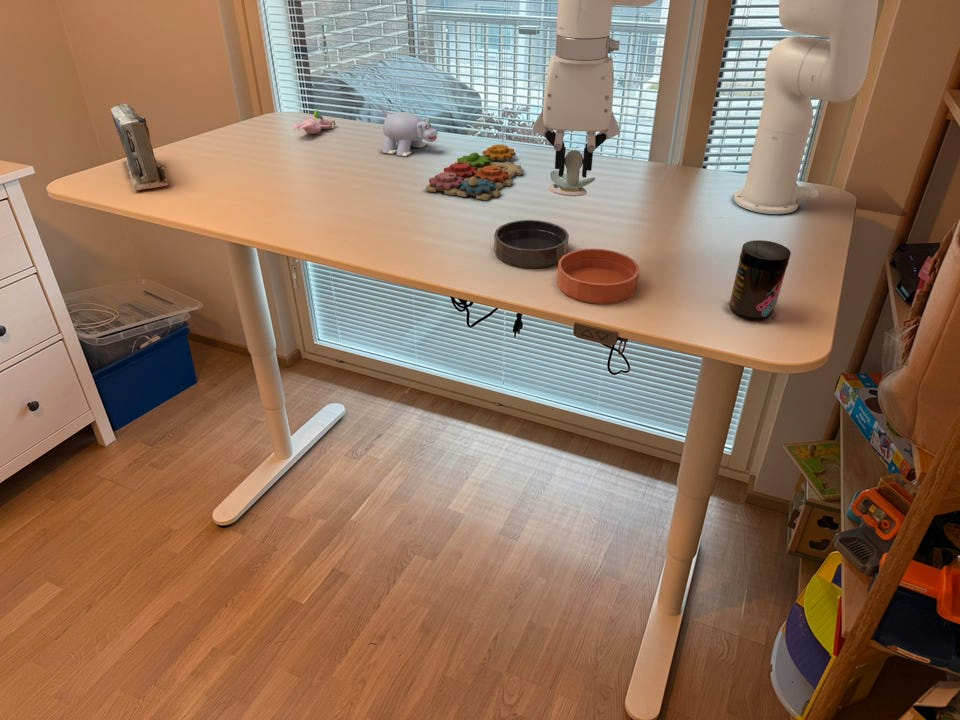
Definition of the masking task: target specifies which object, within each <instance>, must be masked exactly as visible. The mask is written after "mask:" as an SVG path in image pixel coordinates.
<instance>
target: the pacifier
mask: <svg viewBox="0 0 960 720" xmlns="http://www.w3.org/2000/svg"><path fill="white" fill-rule="evenodd" d="M564 168H565V169H566V173H564V174H563V176H559V170H552V171H551V172H550V174H549V177H550V180H551V181H552V184H549V185H548V187H547V188H548V191H549V192H550V193H551V192H552V193H554V194H556V195H560V196H564V197H583V196H585V195H587V194H588V191H587V189H585V188H584V187H587V186H588V185H590V184H592V183H593V182H595V180H596V177H589V178H583V179H580V172H581V171H580V170H581V168H583V154H582V153H581V152H580V151H578V150H576V149H573V150H570V151H568V152H567V154H565V166H564Z"/></svg>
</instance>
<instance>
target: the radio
mask: <svg viewBox="0 0 960 720" xmlns="http://www.w3.org/2000/svg"><path fill="white" fill-rule="evenodd" d="M110 113H111V116H112V119H113V123H114V126H115V127H116V131H117V134H118V136H119V140H120V142H121V146H122V148H123V151H124V153H125V156H126V160H127V161H125V162H126V167H127V170H128V174H129V177H130V180H131V184H132V186H133V188H134V190H135V191H142V190H146V189H153V188H159V187H165V186H169V183H168V179H167V174H166V172H165V168H164V166H163V165H162V164H158V163H157V159H156V158H155V153H154V149H153V145H152V143H151V137H150V130H149V127H148V125H147V120H146V118H145V117H143V116H140V115H138V114H137V113H136V110H135V108H134V107H133V106H131V105H129V104H126V103H116V105H115V106H113V107H112V108H110Z"/></svg>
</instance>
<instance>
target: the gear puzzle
mask: <svg viewBox="0 0 960 720" xmlns="http://www.w3.org/2000/svg"><path fill="white" fill-rule="evenodd" d="M515 156H517V153H516V152H515V149H514V148H509V147H508V145H504V144H494V145H491V146H489V147H487V148H486V149H485V150H483V151H482V154H479V153H478V152H477V151H476V152H475V151H474V152H472V153H470V154H469V155H463V156H462V157H458V158H457V159H456V162H454V163H451V164H450V165H449V166H447V167H444V168H443V172H439V173H437V174H435V175H434V177H431V178H428V183H429V184H428V185H426V186H425V190H426V192H431V193H437V192H438V191H440V192H444V195H448V196H457V197H462V198H467V197H468V196H471V197H475V198H476V199H477V200H481V201H487V200H489V199H490V198H492V197H494V198H498V197H499V196H500V195H501V190H499V189H502V188H503V187H504V186H506V187H511V185H512V184H513V178H514V177H515V176H521V175H522V174H524V169H522V165H520V164H515V163H514V162H511V161H505V160H512V157H515ZM496 160H498V161H496ZM493 161H494V162H493ZM499 161H501V162H499ZM502 161H505V162H502Z"/></svg>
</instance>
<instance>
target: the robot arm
mask: <svg viewBox="0 0 960 720" xmlns="http://www.w3.org/2000/svg"><path fill="white" fill-rule="evenodd" d="M657 1H658V0H557V17H556V34H555V35H556V37H555V54H554V55H551V56H550V58H549V62H548V66H547V72H546V79H545V88H544V98H543V109H542V110H541V112H540V114H539V115H538V117H537V119H536V120H535V121H534V124H533V127H532V130H533V132H535V133H537V134H538V135H540V136H541V137H544V138H545V139H546V140H547V141H548V142H549V144H550V145H551V146H552V148H553V149H554V150H555V158H554V170H558V171H559V176H563V174H565V157H566V148H567V146H566V145H565V142H564V137H565V132H566V131H568V132H585V133H586V136H587V137H586V144H585V147H584V148H583V154H582V157H583V164H582V167H581V168H582V169H581V177H582V178H583V179H587V175H588V171H590V172H592V170H593V169H592V168H593V157H594V152H595V151H596V150H597V149H598V148H599V147H600V146H601V145H602V144H604V142H606V141H607V140H610V139H611V138H614V137H616V136H618V135H620V133H621V132H620V131H621V128H620V126H619V123H618V121H617V119H616V116H615V113H614V112H613V102H614V84H615V80H614V79H615V78H614V76H615V73H614V72H615V71H614V59H613V57H611V56H609V54H611V52H612V53H614V52H615V51H616V52H618V51H620V43H621V41H620V40H616V39H613V37H611V26H612V17H613V8H615V6H622V7H623V6H624V7H634V8H640V7H642V8H643V7H646V6H649V5H652V4H654V3H655V2H657ZM878 8H879V0H778V19H779V20H778V21H779V24H780V25H781V26H782V27H783V28H784V29H785V30H787V31H789V32H793V33H797V34H800V35H796V36H795V35H794V36H793V35H792V36H789V37H785V38H783V39H781V40H780V41H778V42H777V43H776V44H775V45H774V46H773V47H772V48H771V49H770V51H769V53H768V56H767V59H766V61H765V62H766V64H765V69H764V71H765V73H764V92H763V93H764V94H763V100H762V107H761V111H760V117H759V121H758V125H757V129H756V133H755V138H754V143H753V147H752V152H751V157H750V159H749V165H748V169H747V174H746V178H745V183H744V187H743V188H741V189H739V190H737V191H736V192H735V193H734V196H733V200H734V203H735V204H736V205H738V206H739V207H741V208H743V209H745V210H749V211H751V212H755V213H760V214H765V215H785V214H791V213H793V212H795V211H797V209H798V208H799V205H800V201H801V200H802V199H807V200H818V198H819V197H820V190H819V189H813V188H812V189H810V186H807V185H806V186H805V185H802V186H800V185H798V183H797V181H798V178H799V174H800V170H801V167H802V162H803V158H804V154H805V151H806V147H807V143H808V140H809V136H810V132H811V129H812V125H813V121H814V111H813V108H814V107H813V103H812V99H811V98H813V99H817V100H821V101H825V102H826V101H827V102H831V103H844V102H847V101H849V100H852V99H853V98H854V97H855V96H856V95H857V94H858V93H859V92H860V90H861V88H862V86H863V84H864V82H865V80H866V77H867V74H868V70H869V64H870V60H871V58H870V57H871V53H872V47H873V40H874V35H875V28H876V22H877V17H878ZM801 34H802V35H803V36H802V35H801ZM804 35H806V36H804ZM807 35H808V36H807ZM810 36H811V37H810ZM812 36H813V37H812ZM817 37H818V38H817ZM822 38H826V39H822ZM827 39H829V40H827Z"/></svg>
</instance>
